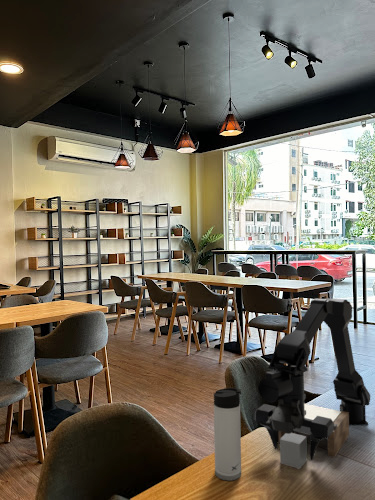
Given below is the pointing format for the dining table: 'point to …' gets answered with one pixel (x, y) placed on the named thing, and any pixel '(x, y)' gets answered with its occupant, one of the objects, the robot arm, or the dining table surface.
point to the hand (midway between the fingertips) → (293, 454)
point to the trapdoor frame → (335, 434)
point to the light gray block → (293, 450)
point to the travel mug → (227, 434)
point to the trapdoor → (317, 411)
